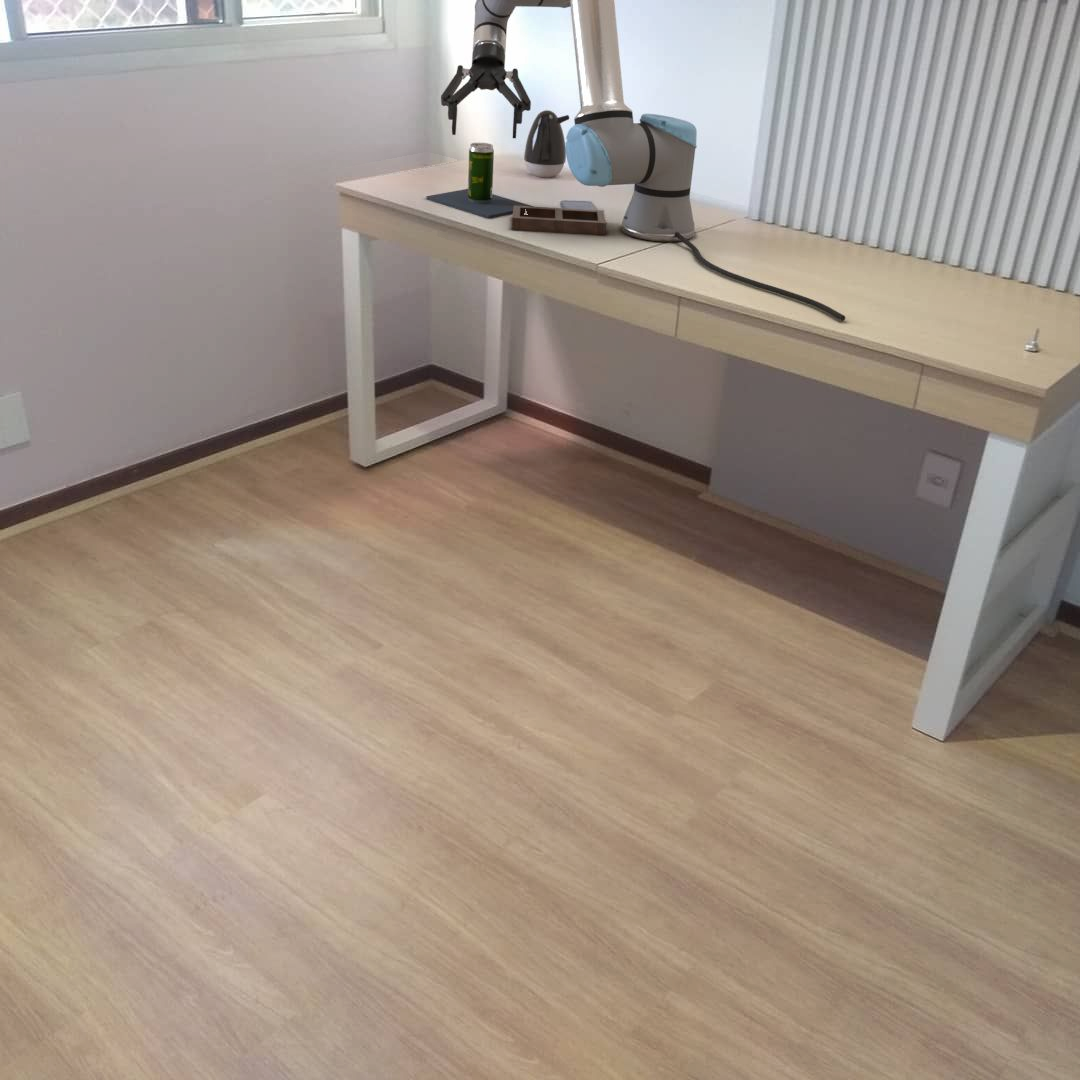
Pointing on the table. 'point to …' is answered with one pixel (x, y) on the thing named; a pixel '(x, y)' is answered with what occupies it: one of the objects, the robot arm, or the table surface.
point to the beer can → (480, 173)
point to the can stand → (558, 220)
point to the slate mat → (488, 210)
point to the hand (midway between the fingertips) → (484, 133)
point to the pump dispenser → (546, 145)
